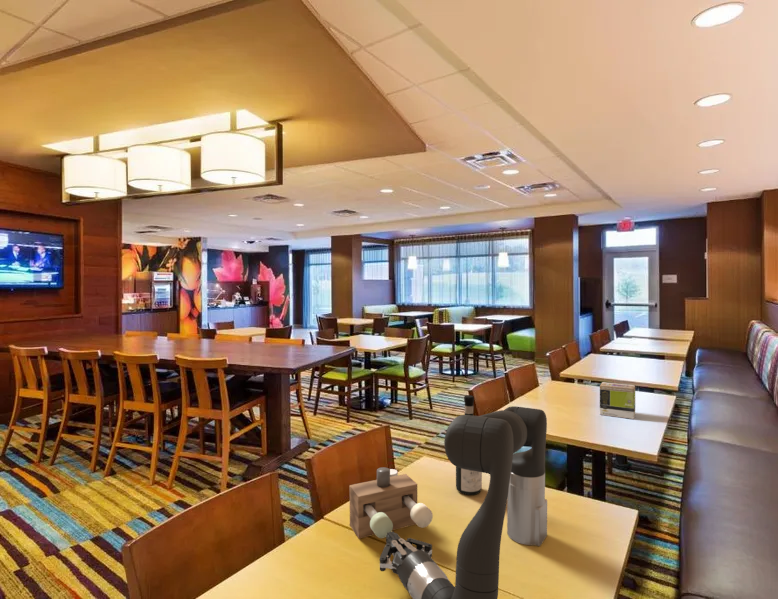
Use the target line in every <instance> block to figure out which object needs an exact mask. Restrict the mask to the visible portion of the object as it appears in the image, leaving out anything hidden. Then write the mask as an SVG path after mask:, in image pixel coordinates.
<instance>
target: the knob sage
mask: <svg viewBox="0 0 778 599" xmlns="http://www.w3.org/2000/svg"><path fill="white" fill-rule="evenodd" d="M363 509H364V511H365V512H366V513H367V515H368V516H369V517H370V518H371V520H370V527H371V529H372V531H373V532H374V533H375V535H374V536H376V537H377V538H379V539H384V538H385V539H386V535H387V533H388V532H392V531H393V530H392V529H393V523H392V521H391V520H390V519H389V517H388V516H387V515H386V514H385V513H383V512H378V513H377V511H376V510H375V509H374V508H373V506H372V505H371V504H370V503H367V504H363Z"/></svg>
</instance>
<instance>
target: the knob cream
mask: <svg viewBox="0 0 778 599" xmlns="http://www.w3.org/2000/svg"><path fill="white" fill-rule="evenodd" d="M402 502H403V503H404V504H405V505H406V506H407V507H408V508H409V509H410V510H411V512H410V516H411V519H412V520H413V521H414V522H415V523H416V524H415V525H417V527H419V528H422V529H423V528H427V527H428V526H429V525H430V524H431V522H432V521H433V517H434V514H433V511H432V510H431V509H430V508H429V507H428V506H427V505H426V504H425V503H423V502H417V504H416V503H415V502H414V501H413V500H412V499H411V498H410V497H409V496H408V495H404V496H402Z"/></svg>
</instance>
